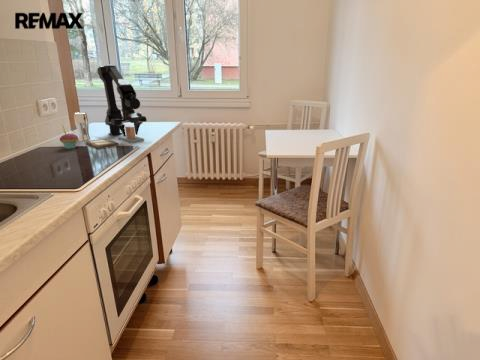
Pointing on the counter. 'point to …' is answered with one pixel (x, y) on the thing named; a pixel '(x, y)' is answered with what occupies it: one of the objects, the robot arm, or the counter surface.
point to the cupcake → (69, 140)
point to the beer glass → (82, 125)
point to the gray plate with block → (130, 136)
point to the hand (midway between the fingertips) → (130, 135)
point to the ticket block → (102, 143)
